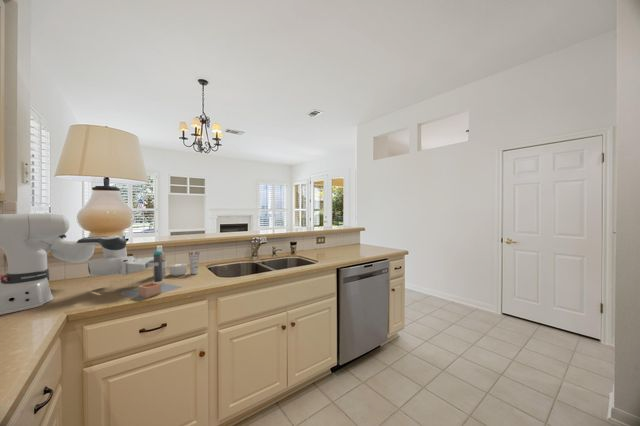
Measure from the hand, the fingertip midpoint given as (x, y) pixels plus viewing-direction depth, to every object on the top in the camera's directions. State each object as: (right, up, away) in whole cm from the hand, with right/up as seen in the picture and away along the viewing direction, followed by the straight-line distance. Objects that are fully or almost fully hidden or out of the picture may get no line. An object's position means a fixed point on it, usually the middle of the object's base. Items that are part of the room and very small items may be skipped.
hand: (159, 262), depth 133 cm
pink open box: (+5, -12, -16) cm, 20 cm away
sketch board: (+2, -12, -9) cm, 16 cm away
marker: (-1, -10, 0) cm, 10 cm away
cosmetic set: (-2, -12, +20) cm, 24 cm away
